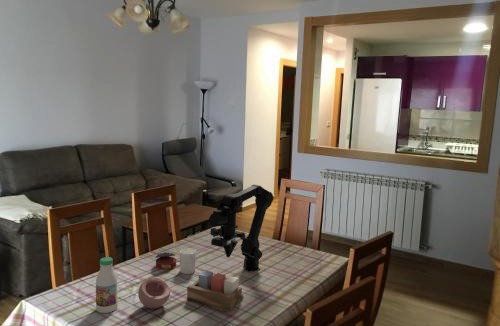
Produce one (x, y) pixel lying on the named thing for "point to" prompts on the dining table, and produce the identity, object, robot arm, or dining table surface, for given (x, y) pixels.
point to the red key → (217, 282)
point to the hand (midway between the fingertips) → (228, 257)
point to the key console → (213, 297)
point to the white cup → (187, 260)
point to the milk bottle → (106, 287)
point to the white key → (230, 285)
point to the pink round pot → (153, 293)
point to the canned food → (165, 261)
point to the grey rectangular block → (205, 279)
